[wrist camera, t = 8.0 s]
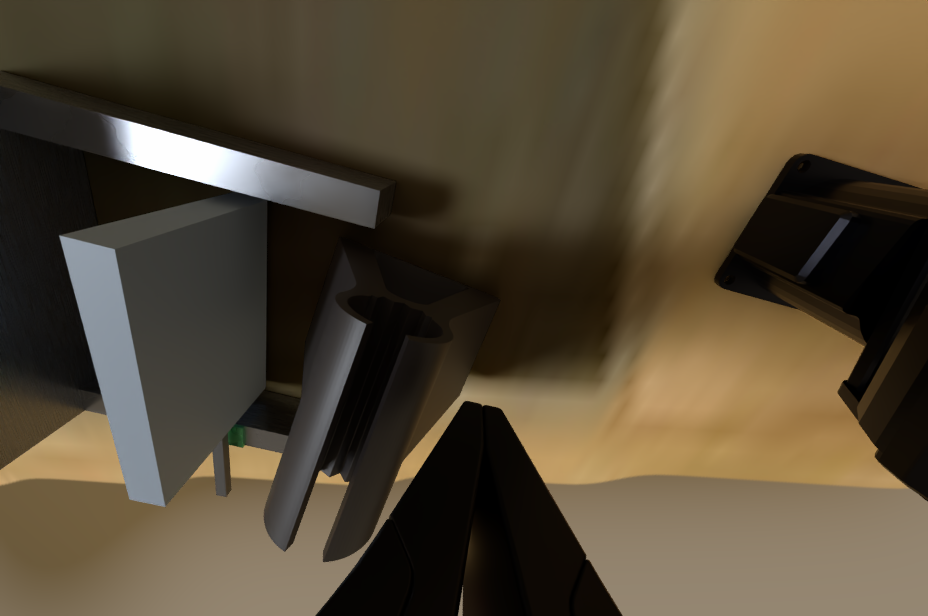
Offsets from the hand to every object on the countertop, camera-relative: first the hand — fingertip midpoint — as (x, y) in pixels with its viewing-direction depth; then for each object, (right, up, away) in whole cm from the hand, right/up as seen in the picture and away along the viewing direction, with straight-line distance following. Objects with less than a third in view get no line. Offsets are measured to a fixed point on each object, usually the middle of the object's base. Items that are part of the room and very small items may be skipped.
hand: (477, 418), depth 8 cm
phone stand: (-4, +2, +12) cm, 12 cm away
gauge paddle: (-13, 0, +13) cm, 18 cm away
